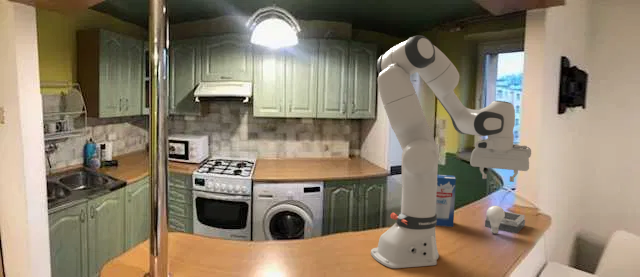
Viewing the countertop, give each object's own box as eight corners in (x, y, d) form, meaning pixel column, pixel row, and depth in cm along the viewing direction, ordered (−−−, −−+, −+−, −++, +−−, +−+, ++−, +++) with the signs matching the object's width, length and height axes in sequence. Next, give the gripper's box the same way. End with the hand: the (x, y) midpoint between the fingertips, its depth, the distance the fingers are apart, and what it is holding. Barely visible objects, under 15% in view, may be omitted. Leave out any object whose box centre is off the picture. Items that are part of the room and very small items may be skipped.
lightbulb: (486, 235, 143) (488, 207, 142) (484, 229, 149) (486, 203, 148) (504, 237, 142) (506, 209, 140) (502, 231, 148) (503, 204, 146)
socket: (517, 233, 146) (517, 222, 145) (484, 226, 154) (485, 215, 153) (524, 225, 155) (525, 215, 154) (494, 219, 163) (494, 209, 162)
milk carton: (452, 222, 159) (454, 175, 156) (453, 227, 153) (456, 178, 150) (427, 219, 161) (429, 174, 159) (428, 224, 155) (430, 177, 153)
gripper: (531, 145, 140) (528, 181, 141) (472, 141, 149) (470, 175, 151) (531, 147, 134) (529, 185, 136) (470, 143, 143) (468, 178, 145)
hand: (497, 180), depth 143 cm, fingers open, 8 cm apart
